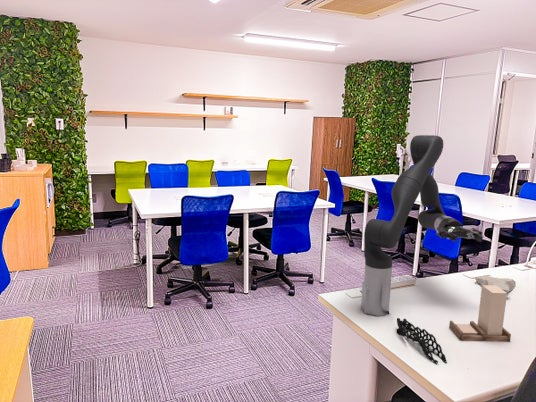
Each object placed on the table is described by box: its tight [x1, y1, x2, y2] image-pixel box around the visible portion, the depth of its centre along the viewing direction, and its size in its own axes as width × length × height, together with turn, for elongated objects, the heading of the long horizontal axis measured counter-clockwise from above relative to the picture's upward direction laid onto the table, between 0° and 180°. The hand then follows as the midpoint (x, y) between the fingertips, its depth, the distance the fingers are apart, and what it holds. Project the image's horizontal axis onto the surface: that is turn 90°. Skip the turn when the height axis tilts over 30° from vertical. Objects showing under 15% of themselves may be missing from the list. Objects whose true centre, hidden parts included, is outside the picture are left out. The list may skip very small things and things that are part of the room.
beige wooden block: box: [476, 285, 508, 336], centre depth 125 cm, size 4×6×15 cm
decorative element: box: [396, 317, 448, 365], centre depth 120 cm, size 22×5×6 cm, turn 13°
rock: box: [474, 275, 517, 294], centre depth 166 cm, size 21×5×15 cm
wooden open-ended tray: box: [448, 320, 512, 343], centre depth 126 cm, size 15×8×4 cm, turn 89°
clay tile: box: [455, 323, 478, 335], centre depth 126 cm, size 4×6×2 cm
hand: (468, 238), depth 136 cm, fingers open, 8 cm apart
